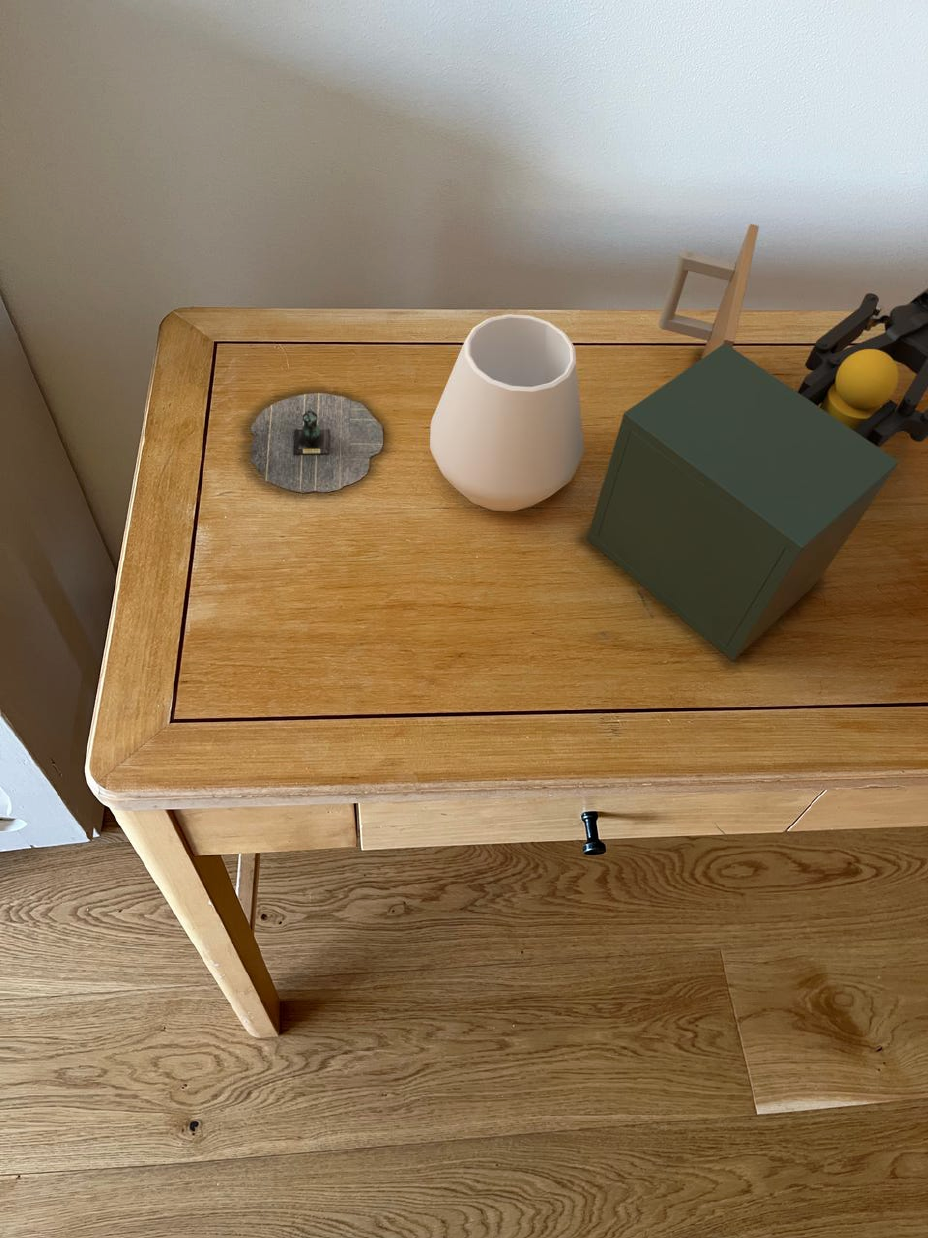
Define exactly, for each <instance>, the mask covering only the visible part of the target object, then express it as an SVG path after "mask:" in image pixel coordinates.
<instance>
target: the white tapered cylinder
mask: <svg viewBox="0 0 928 1238" xmlns="http://www.w3.org/2000/svg"><path fill="white" fill-rule="evenodd" d="M576 354H577V353H576V347H575V346H574V344H573V342H572V340H571V339H570V338H569V336H568V335H567V333H566V332H564V331H563V330H562V329H560V328H559V327H557V326H556V325H554V324H553V323H552V322H550V321H547V320H545V319H542V318H538V317H536V316H533V315H529V314H513V313H512V314H511V313H507V314H502V315H497V316H493V317H488V318H487V319H485V320H484V321H482V322H481V323H479V324H477V325H476V326H473V328H472V329H471V331H470V332H469V334H468V335H467V337H466V338H465V339H464V342H463V344H462V347H461V349H460V351H459V354H458V357H457V359H456V361H455V363H454V366H453V368H452V370H451V373H450V375H449V378H448V379H447V382H446V385H445V387H444V389H443V392H442V394H441V397H440V399H439V402H438V403H437V406H436V409H435V411H434V413H433V416H432V418H431V422H430V431H429V432H430V433H429V440H430V441H429V448H430V452H431V455H432V457H433V459H434V461H435V463H436V465H437V467H438V469H439V470H440V473H441V475H442V476H443V477H444V478H445V479H446V480H447V481H448V482H449V483H450V484H451V485H452V486H453V487H454V488H455V489H456V490H457V491H458V493H460V494H461V495H463V496H464V497H465V498H466V499H467V500H468V501H470V502H471V503H472V504H474V505H476V506H479V507H481V508H484V509H487V510H490V511H493V512H495V511H496V512H497V511H498V512H517V511H520V510H523V509H527V508H530V507H533V506H535V505H537V504H538V503H540V502H542V501H544V500H546V499H548V498H551V496H553V495H554V494H555V493H556V492H558V491H559V490H561V489H563V487H564V486H566V485H567V484H569V483H570V482H571V481H572V479H573V477H574V476H575V474H576V472H577V470H578V467H579V465H580V464H581V461H582V459H583V457H584V451H585V447H584V446H585V445H584V435H583V425H582V424H583V423H582V411H581V399H580V390H579V377H578V367H577V366H578V365H577V356H576Z"/></svg>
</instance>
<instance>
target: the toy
mask: <svg viewBox="0 0 928 1238" xmlns="http://www.w3.org/2000/svg"><path fill="white" fill-rule="evenodd" d="M899 375H900V373H899V369H898V366H897V363H896V361H894V360H893V359H892V358H891V357H890V356H889V355H888V354H886V353H885V352H882V351H880V350H876V349H865V350H860V351H858V352H855V353H853V354H852V355H850V356H849V357H848V358H846V359H845V360H844V362H843V363H842V364H841V366H840V367H839V369H838V372H837V375H836V383H834V384H833V385H832V386H831V387H830V388H829V390H828V392H827V394H826V396H825V398H824V400H823V402H822V403H821V404H820V405H819V407H820V408H821V409H823V410H824V411H826V412H827V413H829V414H830V415H832V416H833V417H834V418H836V419H837V420H839V421H840V422H842V423H843V424H845V425H846V426H848V427H849V428H851V429H852V430H855V429H856V428H857V427H858V426H859V425H861V424H862V423H863V422H864V421H865V420H867V419H868V418H869V417H870V416H871V415H873V414H874V413H875V412H876V411H877V410H879V409H880V408H881V407H882V406H883V404H885V403H886V402H888V401H889V400H890V398H891V397H892V396H893V394H894V393H895V391H896V389H897V388H898V384H899V378H900V376H899Z"/></svg>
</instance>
